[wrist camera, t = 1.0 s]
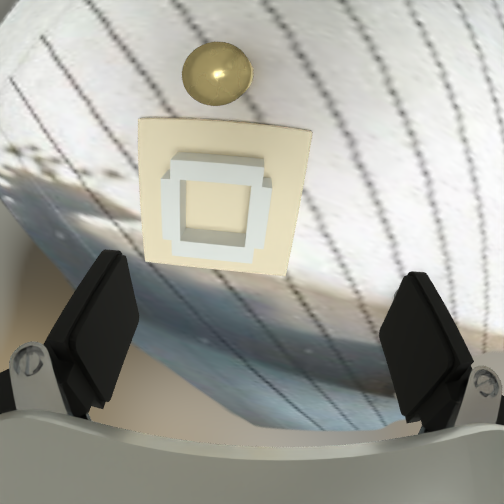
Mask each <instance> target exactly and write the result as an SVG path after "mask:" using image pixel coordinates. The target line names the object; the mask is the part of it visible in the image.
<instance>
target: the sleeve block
mask: <svg viewBox="0 0 504 504" xmlns="http://www.w3.org/2000/svg"><path fill="white" fill-rule="evenodd" d="M312 133H313V132H312V131H309V130H303V129H296V128H289V127H282V126H274V125H266V124H257V123H247V122H236V121H223V120H208V119H187V118H140V119H138V163H139V189H140V206H141V220H142V232H143V243H144V253H145V262H154V263H163V264H172V265H181V266H190V267H199V268H209V269H218V270H228V271H238V272H248V273H258V274H268V275H279V276H286V272H287V267H288V262H289V257H290V252H291V247H292V242H293V237H294V232H295V227H296V222H297V217H298V212H299V206H300V201H301V196H302V190H303V185H304V179H305V174H306V168H307V162H308V157H309V151H310V145H311V139H312Z"/></svg>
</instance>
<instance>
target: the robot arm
mask: <svg viewBox="0 0 504 504" xmlns="http://www.w3.org/2000/svg"><path fill="white" fill-rule="evenodd" d="M138 322H139V312H138V308H137V304H136V299H135V295H134V291H133V286H132V282H131V277H130V273H129V268H128V263H127V258H126V256H124V255H122V253H121V251H117V250H103V251H102V252H101V254H100V255H99V256H98V258H97V259H96V261H95V262H94V264H93V265H92V266H91V268H90V269H89V271H88V272H87V274H86V275H85V277H84V278H83V280H82V281H81V283H80V284H79V286H78V287H77V289H76V291H75V292H74V294H73V295H72V297H71V299H70V300H69V302H68V303H67V305H66V306H65V308H64V310H63V311H62V313H61V315H60V316H59V318H58V320H57V322H56V323H55V325H54V327H53V328H52V330H51V332H50V334H49V335H48V337H47V339H46V341H45V343H44V345H43V344H41V343H39V342H28V343H25V344H23V345H21V346H19V347H18V348H17V349H16V350H15V351H14V353H13V354H12V356H11V358H10V361H9V369H7V370H5V371H3V372H1V373H0V504H504V396H503V395H502V385H501V381H500V379H499V377H498V375H497V374H496V373H495V372H494V371H493V370H492V369H490V368H488V367H486V366H477V367H475V368H474V369H473V370H472V367H471V364H472V363H473V362H474V361H473V359H472V356H471V354H470V352H469V350H468V348H467V346H466V344H465V342H464V340H463V338H462V336H461V334H460V332H459V330H458V328H457V326H456V324H455V322H454V321H453V319H452V317H451V315H450V313H449V311H448V310H447V308H446V306H445V304H444V302H443V301H442V299H441V297H440V295H439V294H438V292H437V290H436V289H435V287H434V285H433V283H432V282H431V280H430V278H429V277H428V275H427V274H426V273H424V272H409V273H408V275H406V276H404V278H403V280H402V282H401V284H400V287H399V289H398V291H397V294H396V296H395V298H394V300H393V303H392V305H391V307H390V309H389V311H388V313H387V316H386V318H385V320H384V322H383V324H382V326H381V328H380V332H379V338H380V341H381V344H382V348H383V351H384V354H385V357H386V361H387V364H388V367H389V371H390V374H391V378H392V381H393V385H394V388H395V392H396V396H397V399H398V403H399V407H400V411H401V414H402V415H403V416H405V418H406V422H407V423H411V422H417V421H420V420H421V422H422V427H421V429H420V431H419V433H418V435H413V436H407V437H402V438H395V439H389V440H382V441H375V442H367V443H358V444H347V445H336V446H318V447H253V446H236V445H222V444H211V443H202V442H194V441H187V440H180V439H173V438H167V437H161V436H156V435H150V434H145V433H140V432H136V431H131V430H126V429H122V428H117V427H113V426H108V425H105V424H101V423H97V422H93V421H91V419H90V416H89V414H88V412H89V410H90V408H91V406H94V407H97V408H101V409H103V408H104V405H105V402H109V401H110V400H111V397H112V394H113V391H114V388H115V385H116V382H117V379H118V377H119V374H120V371H121V368H122V365H123V362H124V360H125V357H126V354H127V351H128V349H129V346H130V343H131V341H132V338H133V336H134V333H135V330H136V328H137V325H138Z"/></svg>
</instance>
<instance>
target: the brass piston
mask: <svg viewBox="0 0 504 504" xmlns="http://www.w3.org/2000/svg"><path fill="white" fill-rule="evenodd" d="M253 76H254V72H253V67H252V65H251V63H250V61H249V60H248V58H247V57H246V55H245V54H244V53H243V52H242V51H241V50H240V49H239V48H237V47H236V46H234V45H231V44H229V43H225V42H211V43H207V44H204V45H202V46H200V47H198V48H196V49H195V50H194V51H193V52H192V53H191V54H190V55H189V56H188V58H187V59H186V61H185V63H184V66H183V70H182V80H183V84H184V87H185V89H186V90H187V92H188V93H189V95H190V96H191V97H192V98H194V99H195V100H196V101H198V102H200V103H203V104H206V105H211V106H220V105H225V104H228V103H231V102H233V101H235V100H236V99H238V98H239V97H240V96H241V95H242V94H243V93H244V92H245V91H246V90H247V89H248V88H249V86H250V85H251V83H252V80H253Z"/></svg>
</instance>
